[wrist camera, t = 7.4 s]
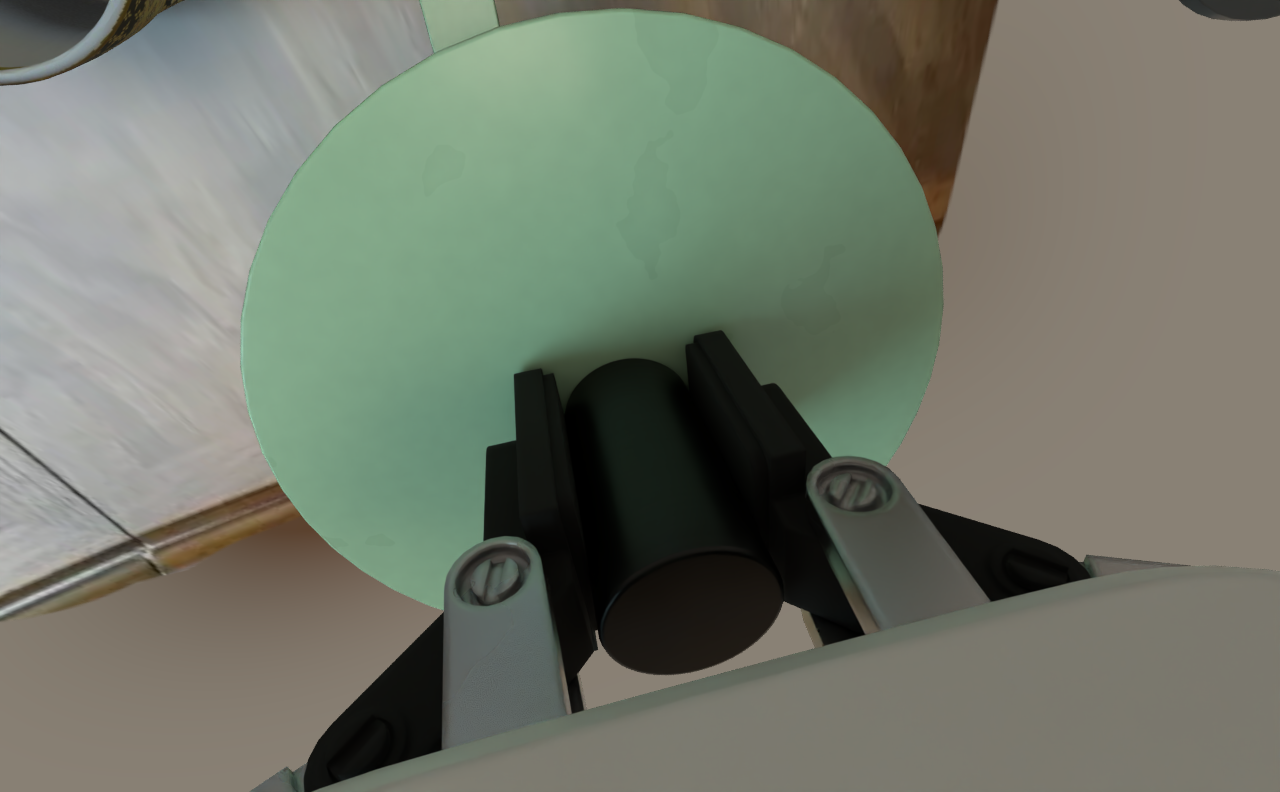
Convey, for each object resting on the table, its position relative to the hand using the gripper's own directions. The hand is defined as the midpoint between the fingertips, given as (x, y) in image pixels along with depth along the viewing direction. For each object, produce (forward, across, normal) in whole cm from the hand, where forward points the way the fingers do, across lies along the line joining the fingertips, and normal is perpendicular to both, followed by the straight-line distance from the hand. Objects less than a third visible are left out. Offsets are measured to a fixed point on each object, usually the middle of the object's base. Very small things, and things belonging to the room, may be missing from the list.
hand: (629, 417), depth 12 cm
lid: (+1, 0, 0) cm, 1 cm away
